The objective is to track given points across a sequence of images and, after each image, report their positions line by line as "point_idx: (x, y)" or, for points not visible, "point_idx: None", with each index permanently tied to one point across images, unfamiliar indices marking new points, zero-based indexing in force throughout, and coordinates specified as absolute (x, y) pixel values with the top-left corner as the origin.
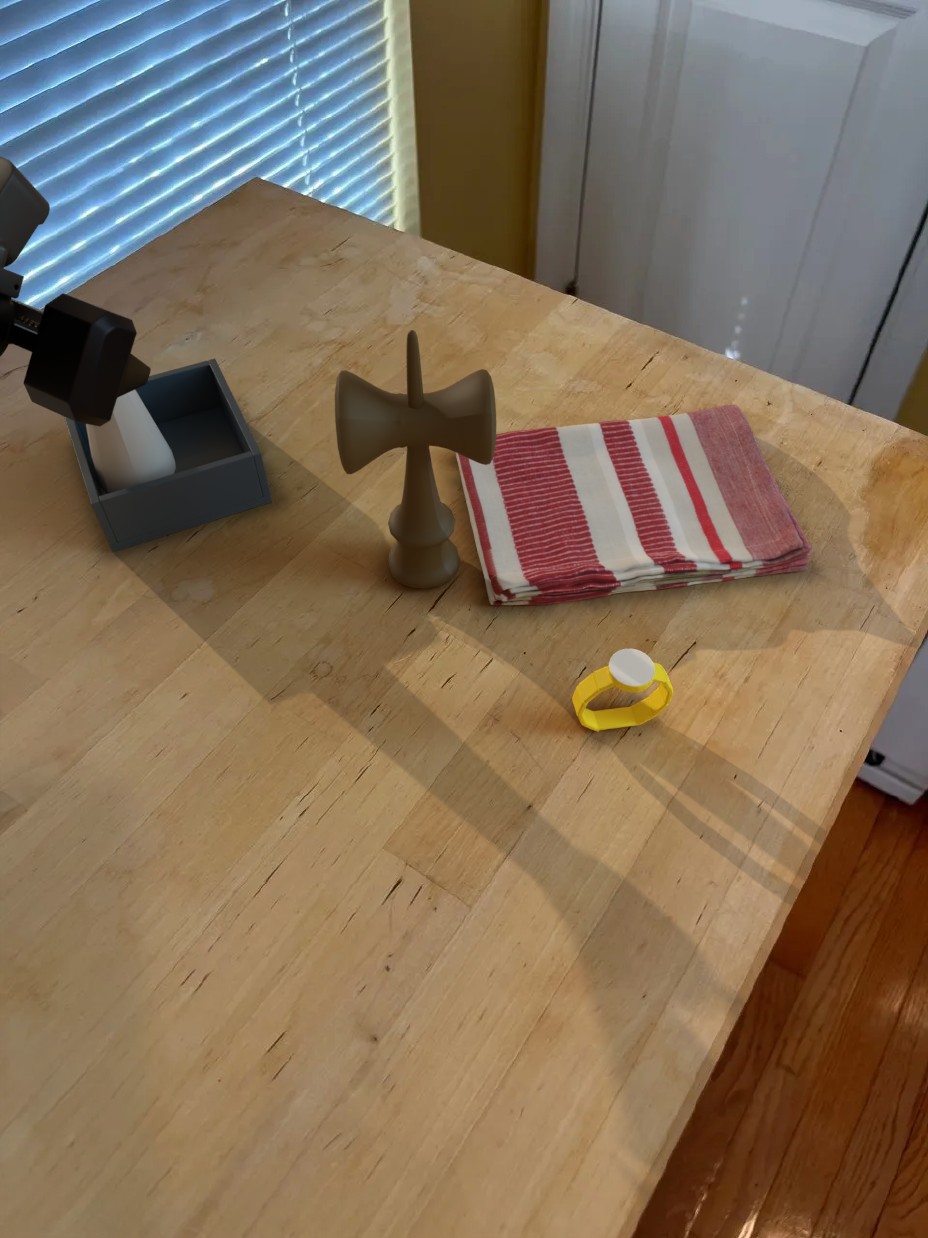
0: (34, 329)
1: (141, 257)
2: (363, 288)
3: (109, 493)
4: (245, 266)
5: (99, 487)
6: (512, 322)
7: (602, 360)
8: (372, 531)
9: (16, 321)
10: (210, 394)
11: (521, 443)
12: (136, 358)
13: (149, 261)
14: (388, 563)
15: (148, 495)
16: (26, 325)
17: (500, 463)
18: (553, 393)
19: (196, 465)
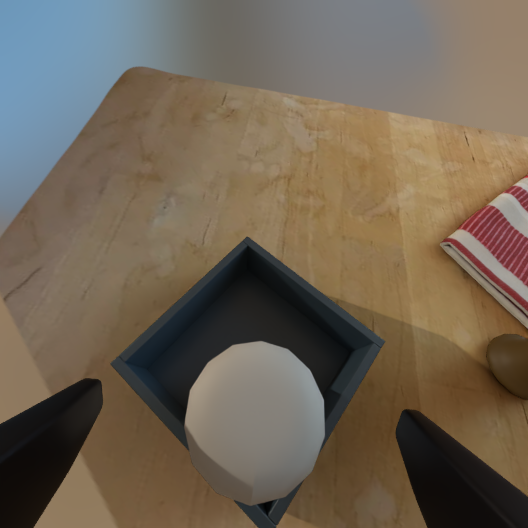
0: (82, 417)
1: (73, 141)
2: (265, 128)
3: (278, 502)
4: (167, 130)
5: None
6: (375, 131)
7: (444, 145)
8: (448, 347)
9: (28, 471)
10: (242, 266)
11: (489, 227)
12: (520, 492)
13: (83, 143)
14: (503, 383)
15: None
16: (61, 441)
17: (494, 250)
18: (442, 176)
19: None
